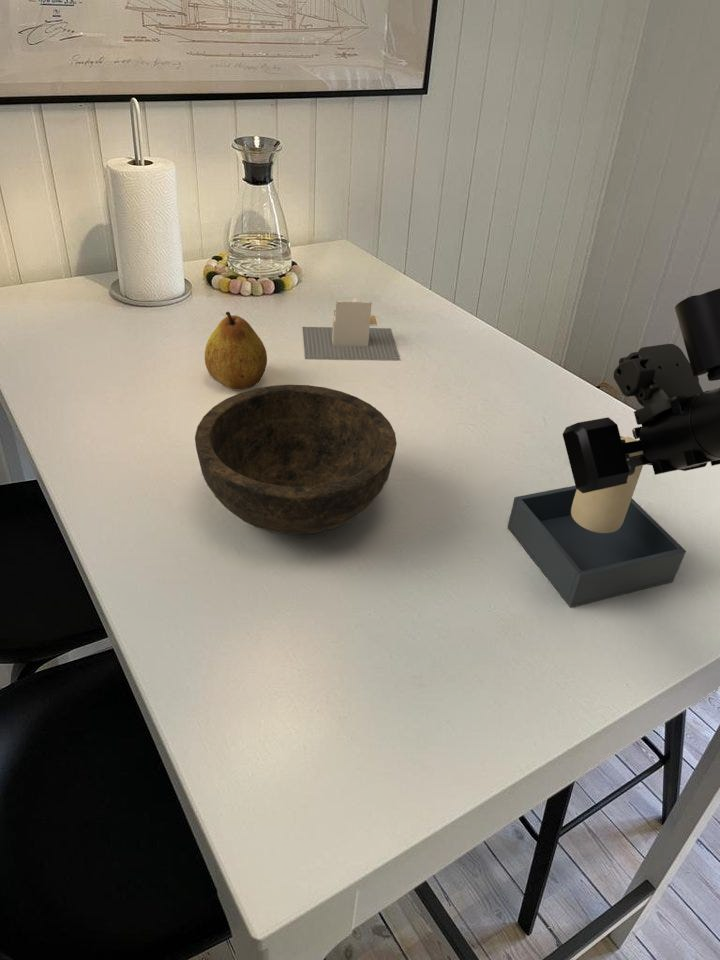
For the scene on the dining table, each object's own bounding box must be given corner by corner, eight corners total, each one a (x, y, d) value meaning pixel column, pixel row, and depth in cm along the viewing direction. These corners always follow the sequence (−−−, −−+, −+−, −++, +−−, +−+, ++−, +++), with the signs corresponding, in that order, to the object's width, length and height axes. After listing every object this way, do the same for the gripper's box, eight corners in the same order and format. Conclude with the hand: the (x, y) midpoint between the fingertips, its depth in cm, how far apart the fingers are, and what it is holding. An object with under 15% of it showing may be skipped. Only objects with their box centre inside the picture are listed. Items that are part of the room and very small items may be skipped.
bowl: (427, 517, 88) (438, 446, 82) (276, 601, 75) (276, 525, 69) (309, 433, 100) (311, 366, 94) (164, 494, 88) (156, 422, 82)
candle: (618, 504, 83) (644, 427, 77) (626, 537, 78) (654, 458, 72) (567, 498, 83) (589, 421, 77) (573, 530, 78) (597, 451, 73)
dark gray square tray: (673, 581, 82) (686, 551, 79) (569, 607, 77) (580, 576, 75) (602, 507, 91) (612, 478, 89) (507, 527, 87) (514, 496, 84)
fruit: (243, 360, 115) (241, 286, 108) (279, 385, 109) (279, 308, 102) (194, 376, 110) (188, 299, 103) (229, 403, 105) (225, 323, 97)
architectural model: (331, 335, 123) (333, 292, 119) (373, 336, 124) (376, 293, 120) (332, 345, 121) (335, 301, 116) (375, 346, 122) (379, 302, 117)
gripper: (774, 321, 67) (656, 374, 82) (602, 345, 61) (508, 397, 75) (809, 442, 66) (683, 473, 80) (637, 479, 60) (534, 505, 74)
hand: (604, 460), depth 78 cm, fingers closed on candle, 5 cm apart
